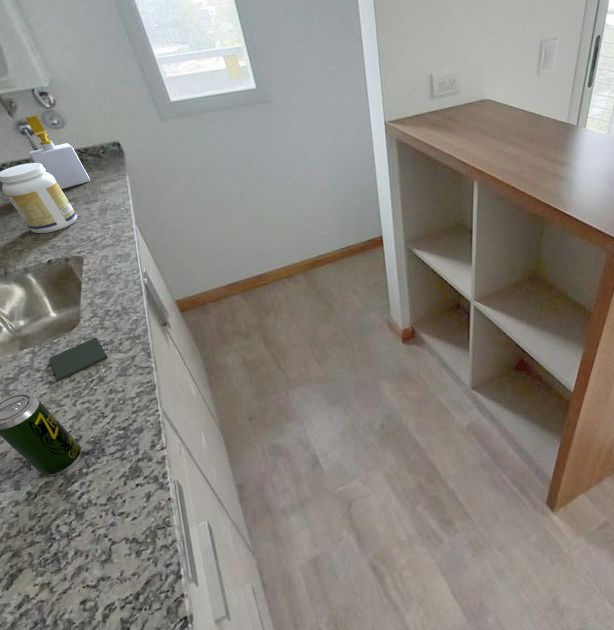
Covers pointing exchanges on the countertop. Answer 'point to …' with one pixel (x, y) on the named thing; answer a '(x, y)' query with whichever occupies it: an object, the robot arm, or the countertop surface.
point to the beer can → (37, 435)
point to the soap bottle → (57, 158)
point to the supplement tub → (37, 198)
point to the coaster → (77, 358)
